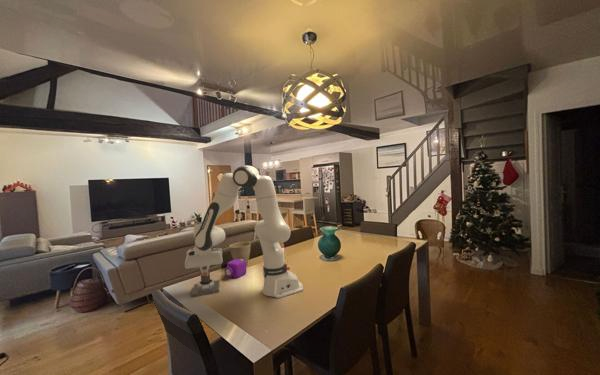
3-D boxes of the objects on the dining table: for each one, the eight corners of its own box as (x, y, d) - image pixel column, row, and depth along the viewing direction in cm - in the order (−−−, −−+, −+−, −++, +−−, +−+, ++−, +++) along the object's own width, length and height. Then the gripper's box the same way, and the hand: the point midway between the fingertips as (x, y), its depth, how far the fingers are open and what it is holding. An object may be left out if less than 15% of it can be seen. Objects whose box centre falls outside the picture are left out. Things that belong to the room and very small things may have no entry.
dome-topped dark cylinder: (211, 284, 144) (209, 271, 143) (210, 287, 139) (209, 274, 139) (202, 285, 143) (201, 272, 142) (201, 289, 138) (200, 275, 138)
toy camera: (221, 279, 154) (220, 264, 154) (234, 271, 167) (233, 257, 166) (236, 281, 150) (235, 265, 150) (248, 272, 163) (247, 258, 163)
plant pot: (248, 261, 186) (246, 240, 186) (255, 266, 174) (253, 244, 173) (228, 265, 179) (227, 244, 178) (234, 271, 166) (232, 248, 165)
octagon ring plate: (219, 282, 150) (218, 275, 150) (218, 292, 136) (218, 284, 136) (194, 286, 146) (194, 279, 145) (191, 297, 132) (191, 289, 132)
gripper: (222, 246, 146) (223, 268, 147) (185, 250, 140) (186, 274, 140) (222, 248, 140) (223, 272, 141) (183, 253, 134) (185, 278, 134)
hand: (205, 273), depth 140 cm, fingers closed, pressing on dome-topped dark cylinder
